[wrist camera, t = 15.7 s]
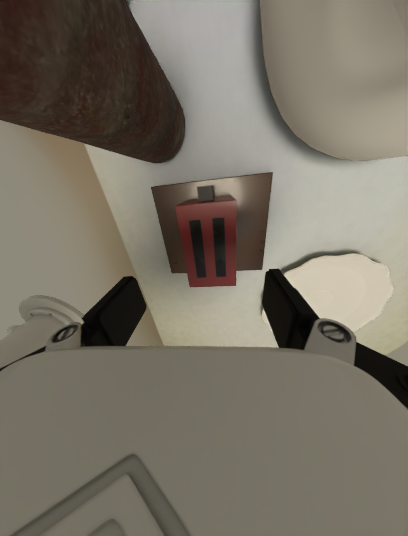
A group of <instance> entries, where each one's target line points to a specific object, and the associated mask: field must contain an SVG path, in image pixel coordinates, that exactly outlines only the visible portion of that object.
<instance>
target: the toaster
mask: <svg viewBox="0 0 408 536" xmlns="http://www.w3.org/2000/svg"><path fill="white" fill-rule="evenodd" d="M197 193H198V199H191V200H187V201H184V202H182V203H180V204H178V205H176V206H175V209H176V214H177V220H178V225H179V231H180V236H181V242H182V247H183V253H184V258H185V264H186V269H187V274H188V280H189V285H190V287H212V286H236V208H237V200H236V199H235V198H234V197H232V196H231V195H228V196H219V197H214V193H213V185H210V186H202V187H197Z"/></svg>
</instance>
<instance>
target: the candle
mask: <svg viewBox="0 0 408 536" xmlns="http://www.w3.org/2000/svg"><path fill="white" fill-rule="evenodd" d="M0 120H3V121H6V122H10V123H13V124H17V125H21V126H24V127H28V128H31V129H34V130H38V131H41V132H45V133H49V134H53V135H57V136H60V137H64V138H68V139H71V140H75V141H79V142H82V143H85V144H88V145H92V146H95V147H98V148H102V149H105V150H108V151H112V152H115V153H119V154H122V155H126V156H129V157H132V158H136V159H140V160H143V161H147V162H151V163H161V162H165V161H167V160H169V159H171V158H172V157H173V156H174V155H175V153H176V152H177V151H178V150H179V148H180V146H181V143H182V140H183V136H184V129H185V119H184V114H183V110H182V107H181V105H180V103H179V101H178V99H177V97H176V95H175V93H174V91H173V89H172V87H171V85H170V83H169V81H168V79H167V77H166V76H165V74H164V72H163V70H162V68H161V66H160V65H159V63H158V61H157V59H156V57H155V55H154V54H153V52H152V50H151V48H150V46H149V44H148V43H147V41H146V39H145V37H144V35H143V33H142V31H141V29H140V28H139V26H138V24H137V23H136V21H135V19H134V17H133V15H132V13H131V11H130V9H129V7H128V5H127V3H126V1H125V0H0Z"/></svg>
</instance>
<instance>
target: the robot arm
mask: <svg viewBox="0 0 408 536" xmlns="http://www.w3.org/2000/svg"><path fill="white" fill-rule="evenodd" d="M262 305H263V308H264V311H265V313H266V316H267V318H268V321H269V324H270V326H271V329H272V331H273V334H274V336H275V339H276V341H277V344H278V346H279V348H272V347H215V346H126V344H127V342H128V340H129V339H130V337H131V335H132V333H133V331H134V330H135V328H136V326H137V324H138V323H139V321H140V319H141V317H142V316H143V314H144V312H145V310H146V303H145V301H144V298H143V295H142V293H141V290H140V288H139V285H138V282H137V280H136V279H135V278H134V277H133V276H128V277H123V278H122V279H121V280H120V281H119V282H118V283H117V284H116V285H115V286H114V287H113V288H112V289H111V290H110V291H109V292H108V293H107V294H106V295H105V296H104V297H103V298H102V299H101V300H100V301H99V302H98V303H97V304H96V305H94V306H93V307H92V308H91V309H90V310H89V311H88V312H87V313H86V314H85V315H84V316H83V317H82V318H81V319H82V320H83V322H84V323H83V324H82V325H81V323H79V322H74V321H73V320H72V319H70V318H69V317H68V316H66V315H65V314H63V313H61V312H59V311H56V310H54V309H50V308H45V307H38V308H35V309H33V310H31V311H30V312H29V313H28V314H27V320H28V321H27V322H26V323H25V324H23V325H20V326H10V327H9V328H8V329H7V333H10V334H9V335H8V336H6V337H5V338H3V339H2V340H1V341H0V536H408V366H405V365H404V364H401V363H399V362H397V361H395V360H393V359H391V358H388V357H387V356H385V355H383V354H380V353H378V352H376V351H374V350H372V349H370V348H368V347H366V346H364V345H361V344H359V343H357V342H356V336H355V335H354V333H353V332H352V331H351V330H350V329H349V328H348V327H346V326H345V325H343V324H342V323H339V322H337V321H335V320H331V319H326V318H322V319H320V318H319V317H318V315H317V314H316V313H315V312H314V310H313V309H312V308H311V307H310V305H309V304H308V303H307V302H306V300H305V299H304V298H303V297H302V295H301V294H300V293H299V292H298V290H297V289H296V288H293V286H292V285H291V284H290V282H289V281H288V280H287V279H286V277H285V276H284V275H283V273H282V272H281V271H280V270H279V269H269V271H267V272H266V275H265V283H264V292H263V300H262Z"/></svg>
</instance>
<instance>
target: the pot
mask: <svg viewBox="0 0 408 536" xmlns="http://www.w3.org/2000/svg"><path fill="white" fill-rule="evenodd" d="M260 11H261V25H262V40H263V52H264V61H265V66H266V70H267V75H268V79H269V84H270V88H271V93H272V95H273V98H274V100H275V102H276V104H277V107H278V109H279V111H280V114H281V116H282V118H283V119H284V120H285V122H286V123H287V125H288V126H289V127H290V129H291V130H292V131H293V133H294V134H295V135H296V136H297V137H299V138H300V139H301V140H302V141H304V142H305V143H306V144H308V145H309V146H310V147H312V148H314V149H315V150H318V151H320V152H323V153H325V154H328V155H330V156H333V157H335V158H338V159H347V160H356V161H368V160H376V159H385V158H393V157H402V156H408V0H260Z"/></svg>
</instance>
